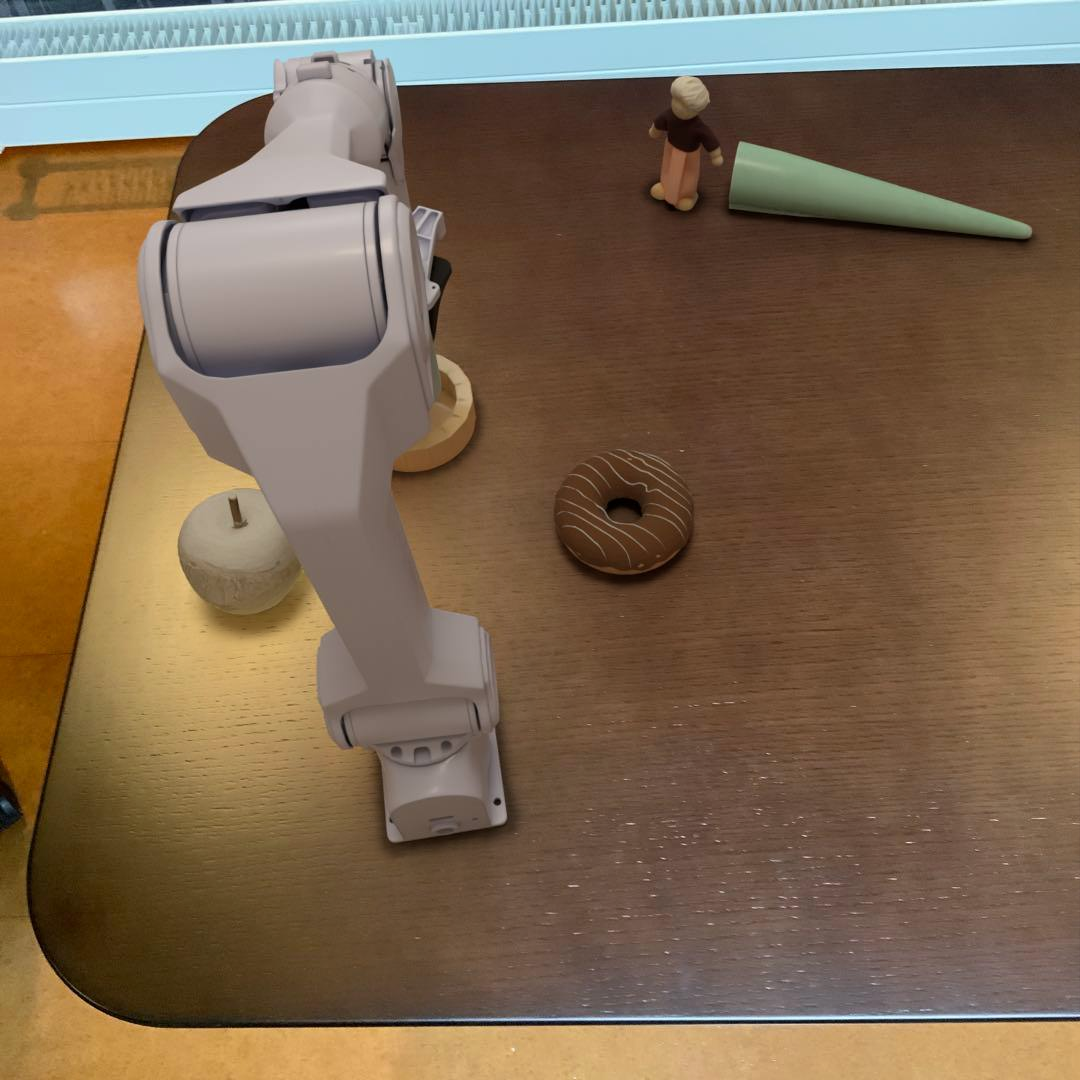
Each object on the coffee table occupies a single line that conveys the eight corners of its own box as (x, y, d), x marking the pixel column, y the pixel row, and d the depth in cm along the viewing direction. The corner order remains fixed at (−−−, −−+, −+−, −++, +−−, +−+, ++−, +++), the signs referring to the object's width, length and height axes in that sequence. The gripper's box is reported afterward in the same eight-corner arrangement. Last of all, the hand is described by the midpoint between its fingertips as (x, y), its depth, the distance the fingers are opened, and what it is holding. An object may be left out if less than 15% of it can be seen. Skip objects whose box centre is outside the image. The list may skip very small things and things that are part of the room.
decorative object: (206, 644, 78) (157, 581, 69) (202, 544, 82) (156, 473, 73) (325, 620, 78) (291, 555, 69) (314, 522, 82) (281, 449, 74)
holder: (482, 461, 84) (479, 440, 82) (359, 481, 84) (352, 459, 82) (468, 366, 90) (464, 343, 87) (351, 384, 89) (344, 361, 87)
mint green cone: (1051, 212, 88) (732, 168, 92) (1028, 260, 92) (725, 216, 97) (1052, 169, 90) (742, 128, 95) (1030, 218, 95) (735, 176, 99)
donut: (583, 603, 78) (582, 578, 74) (535, 491, 83) (533, 463, 79) (715, 558, 79) (721, 531, 76) (660, 451, 84) (663, 421, 81)
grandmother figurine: (633, 199, 99) (638, 80, 88) (650, 173, 100) (657, 54, 89) (709, 224, 97) (723, 105, 86) (725, 197, 98) (742, 78, 87)
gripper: (371, 328, 63) (406, 456, 75) (475, 172, 69) (493, 312, 81) (271, 296, 65) (321, 426, 77) (381, 146, 71) (412, 288, 83)
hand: (404, 366), depth 79 cm, fingers closed on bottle, 5 cm apart
